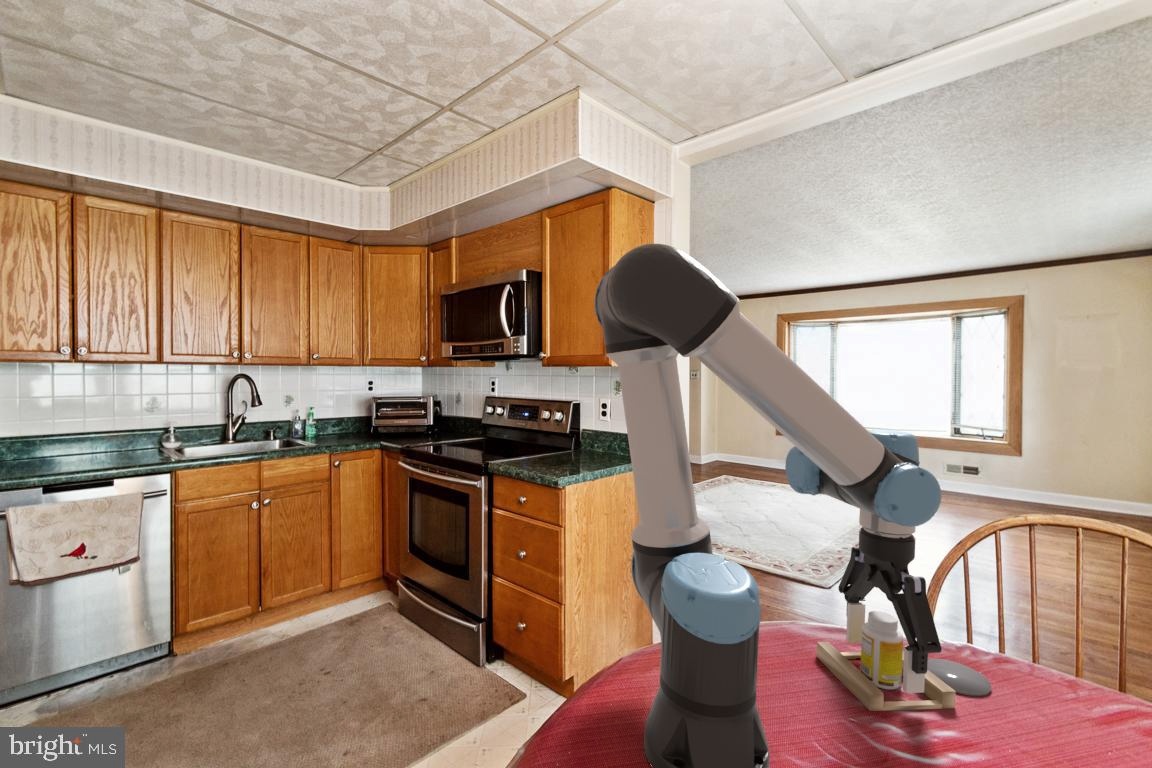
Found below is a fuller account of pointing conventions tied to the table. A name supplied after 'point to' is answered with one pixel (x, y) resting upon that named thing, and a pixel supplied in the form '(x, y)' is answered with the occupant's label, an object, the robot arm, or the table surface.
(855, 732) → the table surface
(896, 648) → the supplement bottle
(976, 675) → the coaster
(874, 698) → the open wooden frame
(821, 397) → the robot arm
